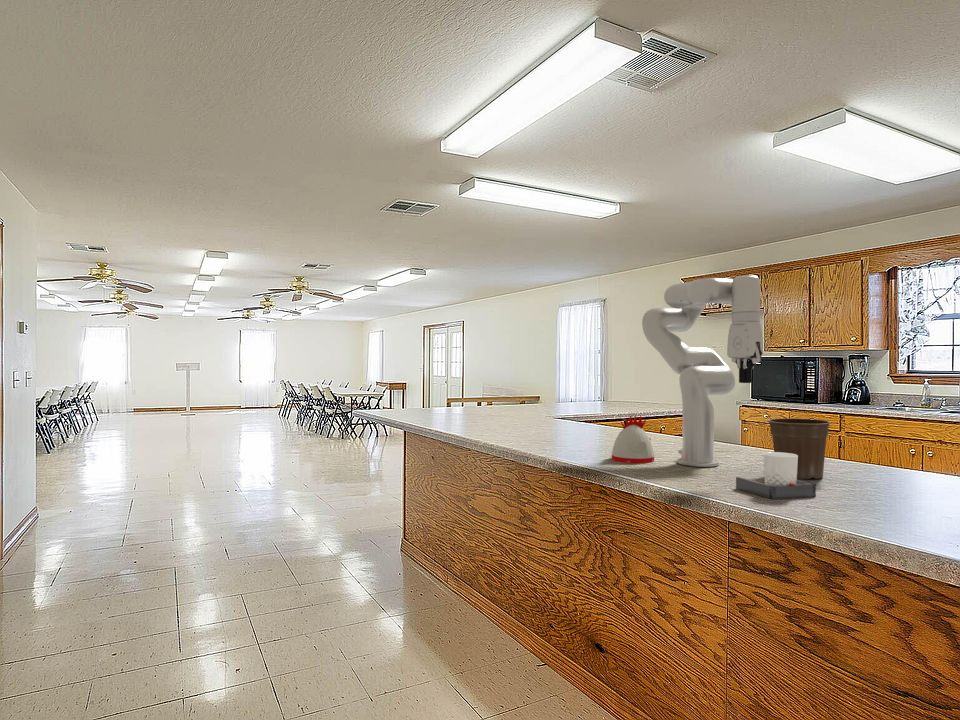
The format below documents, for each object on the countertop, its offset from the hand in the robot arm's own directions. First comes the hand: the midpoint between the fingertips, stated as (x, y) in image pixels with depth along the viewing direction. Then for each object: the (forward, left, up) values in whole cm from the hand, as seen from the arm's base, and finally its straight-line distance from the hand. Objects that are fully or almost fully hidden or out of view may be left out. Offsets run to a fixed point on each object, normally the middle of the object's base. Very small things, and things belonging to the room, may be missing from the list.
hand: (745, 382), depth 179 cm
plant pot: (+3, +16, -27) cm, 32 cm away
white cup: (+21, -7, -27) cm, 35 cm away
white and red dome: (-35, -16, -27) cm, 47 cm away
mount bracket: (+20, -7, -27) cm, 34 cm away
